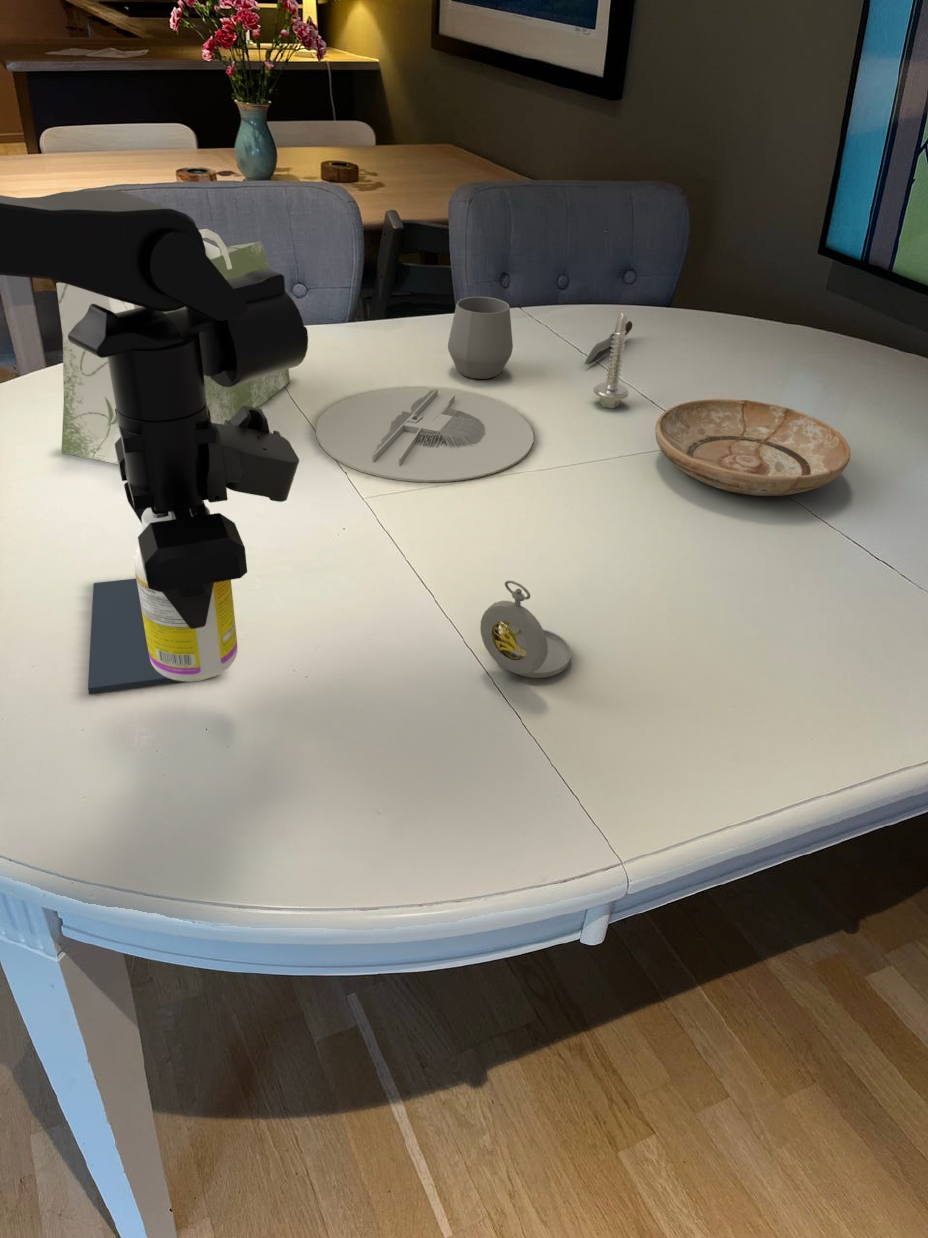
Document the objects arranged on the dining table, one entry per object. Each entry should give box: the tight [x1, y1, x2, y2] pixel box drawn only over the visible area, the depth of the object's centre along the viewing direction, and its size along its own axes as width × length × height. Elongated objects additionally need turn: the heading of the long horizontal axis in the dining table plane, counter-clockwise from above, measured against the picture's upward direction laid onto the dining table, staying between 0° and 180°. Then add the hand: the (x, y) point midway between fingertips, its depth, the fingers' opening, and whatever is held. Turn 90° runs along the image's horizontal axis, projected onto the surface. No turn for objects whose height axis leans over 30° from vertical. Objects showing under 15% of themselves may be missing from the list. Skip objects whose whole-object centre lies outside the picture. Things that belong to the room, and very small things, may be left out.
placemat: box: [87, 578, 181, 694], centre depth 86 cm, size 16×10×1 cm, turn 16°
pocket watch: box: [479, 580, 572, 679], centre depth 82 cm, size 8×8×10 cm
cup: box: [447, 296, 514, 380], centre depth 138 cm, size 10×9×10 cm
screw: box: [593, 311, 630, 409], centre depth 130 cm, size 13×5×5 cm
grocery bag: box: [55, 228, 291, 465], centre depth 117 cm, size 32×14×23 cm, turn 159°
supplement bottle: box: [133, 506, 238, 682], centre depth 71 cm, size 7×7×13 cm
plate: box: [315, 387, 534, 483], centre depth 123 cm, size 28×28×1 cm
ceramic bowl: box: [654, 398, 851, 497], centre depth 117 cm, size 23×24×5 cm
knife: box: [584, 320, 633, 365], centre depth 150 cm, size 18×2×3 cm, turn 150°
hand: (189, 600), depth 71 cm, fingers closed on supplement bottle, 7 cm apart
